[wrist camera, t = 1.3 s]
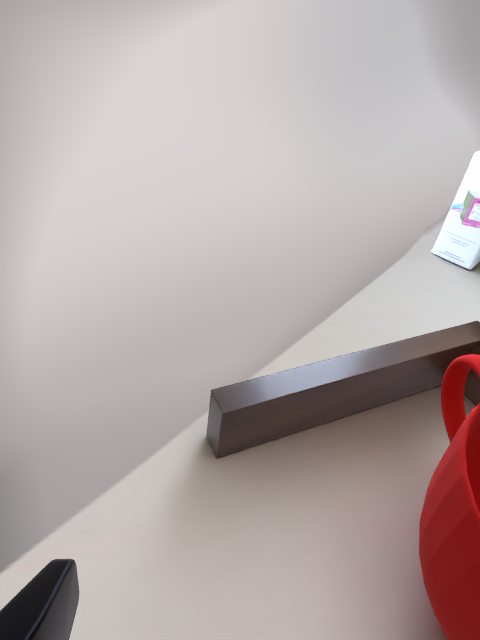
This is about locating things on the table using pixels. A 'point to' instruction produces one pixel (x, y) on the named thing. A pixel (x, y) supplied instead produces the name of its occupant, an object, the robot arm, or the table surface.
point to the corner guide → (336, 388)
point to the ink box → (463, 222)
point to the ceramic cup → (455, 514)
